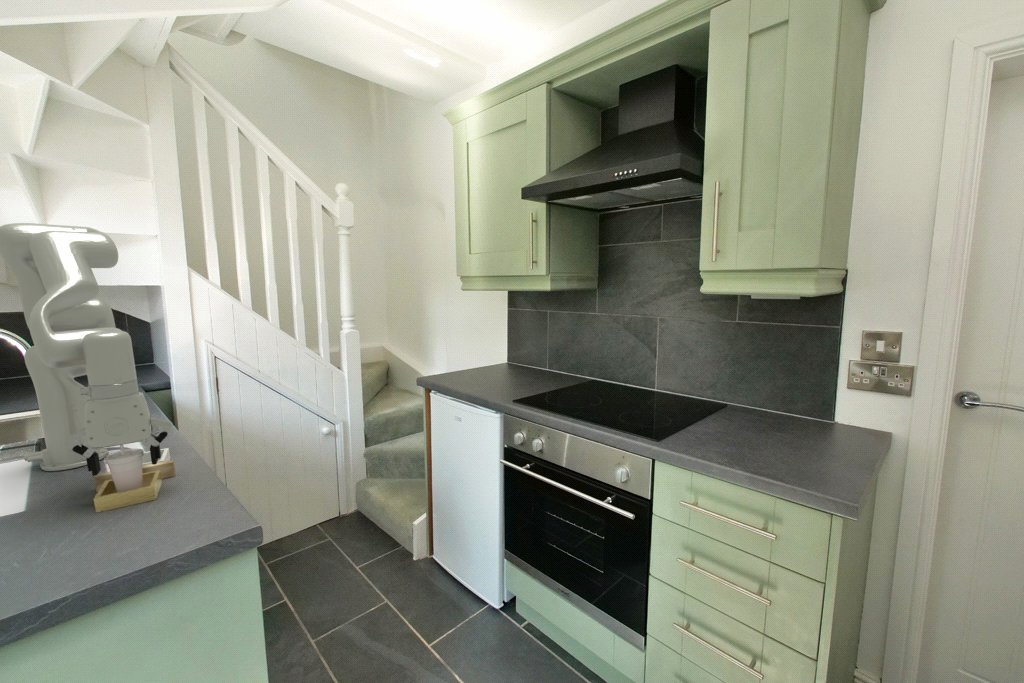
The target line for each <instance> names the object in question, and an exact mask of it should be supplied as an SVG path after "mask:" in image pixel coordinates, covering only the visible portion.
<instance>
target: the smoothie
mask: <svg viewBox="0 0 1024 683" xmlns="http://www.w3.org/2000/svg"><path fill="white" fill-rule="evenodd" d="M119 448H120V450H119V451H115V452H113V453H110V454H108V455H107V456H106V457H105V458H104V461H105V462H104V463H105V465H107V467H108V469H109V472H111V475H112V478H113V481H114V484H115V487H116V490H117V492H123V491H128V490H132V489H137V488H142V466H143V456H144V452H145V451H144V449H143V448H128V449H125V446H124V445H119Z"/></svg>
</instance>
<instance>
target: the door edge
mask: <svg viewBox="0 0 1024 683" xmlns="http://www.w3.org/2000/svg"><path fill="white" fill-rule="evenodd" d="M158 470H160V471H161V478H162V480H163V479H168V478H169V479H170V478H173V477H176V474H177V473H176V463H175V459H170V460H169V461H163V462H158V463H157V464H154V465H153V464H147V465H143V466H142V473H148V472H153V471H158ZM93 479H94V480H93V481H94V485H95V491H96V493H98V491H99V490H100V488H101V486H102V485H103V483H104V482H105V481H106V480H111V479H113V478H112V475H111V472H110V471H105V472H101V473H100V472H99V473H98V475H96V476H93Z"/></svg>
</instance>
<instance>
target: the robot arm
mask: <svg viewBox="0 0 1024 683" xmlns="http://www.w3.org/2000/svg"><path fill="white" fill-rule="evenodd" d="M0 256H1V258H2V260H3V262H4V263H5V264H6V266H7V267H8V269H9V271H10V272H11V273H12V274H13V276H14V278H15V280H16V282H17V286H18V291H19V296H20V302H21V306H22V309H23V310H22V311H23V316H24V320H25V323H26V325H27V329H29V333H30V336H31V340H32V342H33V345H32V346H30V347H29V348H27V349H26V351H25V353H24V357H23V358H24V363H25V366H26V369H27V372H28V374H29V375H30V378H31V381H32V383H33V387H34V390H35V394H36V398H37V404H38V409H39V414H40V419H41V426H42V431H43V437H44V443H45V446H46V448H45V449H42V450H40V451H32V452H26V453H24V454H23V459H24V461H25V462H27V463H30V462H33V463H34V462H37V461H41V463H40V469H41V470H43V471H46V472H57V471H59V472H60V471H65V470H71V469H75V468H81V467H84V466H86V467H87V471H88V472H91V475H92V476H93V477H95V476H96V475H98V474H99V473H100V472H101V462H100V460H103V459H105V457H106V456H108V455H109V451H108V449H107V448H110V447H112V448H113V447H119V446H120V445H123V446H124V445H129V444H135V443H140V442H143V441H145V442H146V443H148V444H149V445H150V447H149V451H150V454H151V461H152V464H153V465H154V464H157V461H158V459H160V458H161V452H160V449H161V446H160V444H161V443H162V442H163V441H164V440H165V439H166V437H168V435H169V432H170V430H171V428H172V426H173V422H172V421H169V420H164V419H159V418H156V417H151V413H150V409H149V406H148V402H147V399H146V397H145V394H144V393H143V392H141V391H140V390H139V384H138V377H137V370H136V364H135V357H134V356H135V355H134V350H133V343H132V338H131V335H130V334H129V332H127V331H124V330H122V329H120V328H117V327H116V323H115V317H114V313H113V310H112V308H111V306H110V304H109V303H108V301H107V300H106V299H105V298H103V297H100V296H97V295H98V294H99V292H100V286H99V284H98V281H97V279H96V277H95V274H94V272H93V269H112V268H114V267H115V266H116V265H117V264H118V262H119V251H118V248H117V245H116V243H115V241H113V239H112V238H111V237H110V236H109V235H108V234H107V233H105V232H103V231H100V230H99V229H95V228H92V227H89V226H87V227H86V226H76V225H60V224H48V223H33V222H32V223H30V222H29V223H28V222H27V223H26V222H18V223H17V222H15V223H14V222H13V223H8V224H3V225H0ZM83 376H87V382H88V385H87V386H85V385H83V384H82V383H80V382H78V381H76V380H75V378H78V377H83ZM153 426H156V427H160V428H162V430H161V432H160V433H159V434H158V435H156V434H154V433H153V431H154V430H153Z"/></svg>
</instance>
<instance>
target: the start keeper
mask: <svg viewBox="0 0 1024 683" xmlns="http://www.w3.org/2000/svg"><path fill="white" fill-rule="evenodd" d="M160 452H161V458H160V459H158V461H157V463H158V462H163V461H169V460H171V454H170V448H169V447H166V448H160ZM147 464H152V461H151V454H150V450H149V451H144V456H143V465H147Z"/></svg>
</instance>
